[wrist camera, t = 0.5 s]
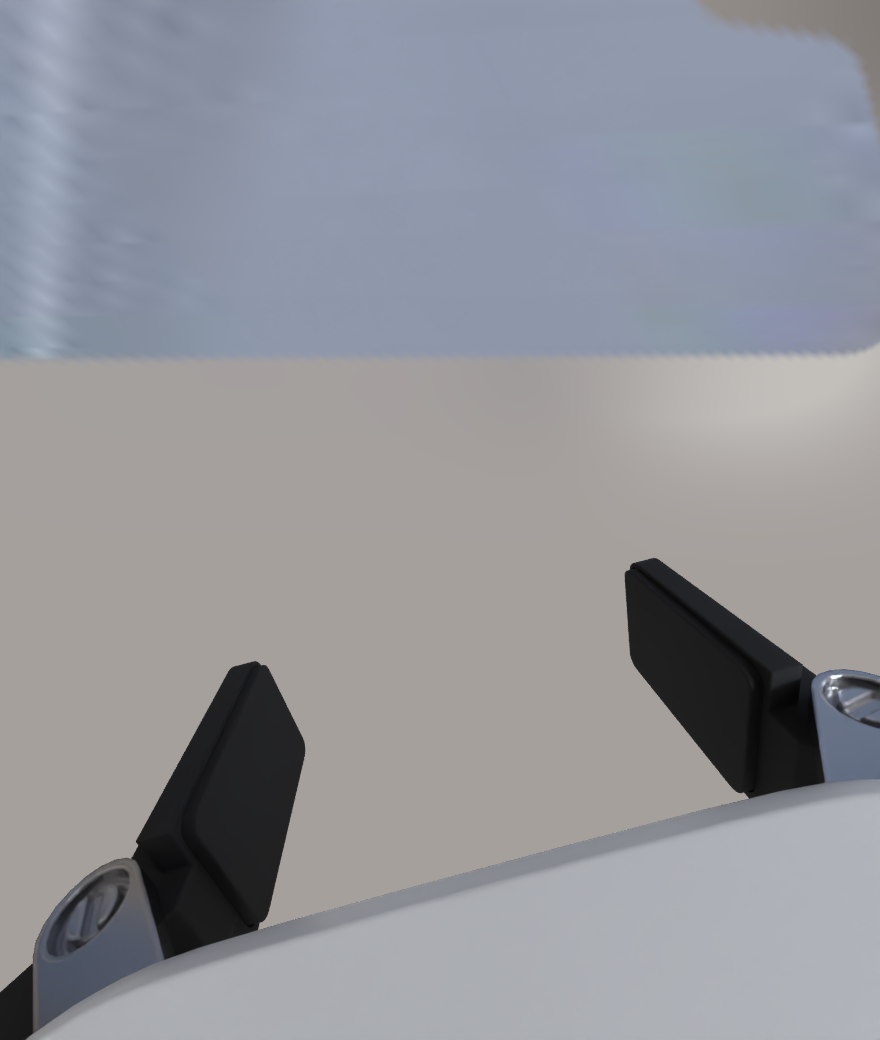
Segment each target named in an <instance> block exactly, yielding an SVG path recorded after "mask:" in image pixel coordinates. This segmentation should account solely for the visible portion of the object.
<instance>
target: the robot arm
mask: <svg viewBox="0 0 880 1040" xmlns="http://www.w3.org/2000/svg"><path fill="white" fill-rule="evenodd" d="M625 588H626V602H627V616H628V632H629V646H630V656H631V659H632V662H633V664H634V666H635V667H636V669H637V670H638V671H639V673H640V674H641V675H642V676H643V678H644V679H645V680H646V681H647V682H648V684H649V685H650V686H651V687H652V689H653V690H654V691H655V692H656V694H657V695H658V696H659V697H660V699H661V700H662V701H663V702H664V704H665V705H666V706H667V707H668V709H669V710H670V711H671V712H672V714H673V715H674V716H675V717H676V719H677V720H678V721H679V722H680V724H681V725H682V726H683V727H684V729H685V730H686V731H687V732H688V733H689V735H690V736H691V737H692V739H693V740H694V741H695V742H696V744H697V745H698V746H699V747H700V748H701V750H702V751H703V752H704V754H705V755H706V756H707V757H708V759H709V760H710V761H711V762H712V764H713V765H714V766H715V767H716V769H717V770H718V771H719V772H720V774H721V775H722V776H723V777H724V778H725V780H726V781H727V782H728V784H729V785H730V786H731V787H732V788H733V789H734V790H735V791H736V792H738V793H743V792H744V793H745V794H746V795H747V796H748V798H749V799H746V800H742V801H738V802H733V803H729V804H725V805H721V806H717V807H713V808H708V809H704V810H700V811H696V812H692V813H689V814H685V815H681V816H677V817H673V818H669V819H666V820H662V821H658V822H654V823H650V824H647V825H643V826H639V827H635V828H632V829H628V830H624V831H620V832H616V833H612V834H608V835H605V836H601V837H597V838H593V839H589V840H586V841H582V842H578V843H574V844H571V845H567V846H563V847H559V848H556V849H552V850H549V851H544V852H541V853H537V854H533V855H529V856H526V857H522V858H518V859H515V860H511V861H507V862H503V863H500V864H496V865H492V866H488V867H485V868H481V869H477V870H474V871H470V872H466V873H463V874H459V875H455V876H451V877H448V878H444V879H440V880H437V881H433V882H429V883H426V884H422V885H418V886H414V887H411V888H407V889H404V890H400V891H396V892H393V893H389V894H385V895H382V896H378V897H375V898H371V899H367V900H364V901H360V902H356V903H353V904H349V905H346V906H342V907H339V908H335V909H331V910H327V911H324V912H320V913H316V914H313V915H309V916H306V917H302V918H298V919H295V920H291V921H288V922H284V923H281V924H277V925H274V926H270V927H267V928H264V929H260V930H258V927H259V923H260V922H263V921H264V920H265V919H266V917H267V915H268V912H269V908H270V904H271V900H272V895H273V891H274V886H275V882H276V878H277V873H278V869H279V865H280V860H281V856H282V852H283V848H284V843H285V839H286V835H287V830H288V826H289V822H290V817H291V813H292V808H293V804H294V800H295V796H296V791H297V787H298V783H299V778H300V774H301V770H302V765H303V761H304V757H305V743H304V740H303V737H302V735H301V733H300V731H299V730H298V727H297V725H296V723H295V721H294V719H293V717H292V715H291V713H290V711H289V709H288V707H287V705H286V703H285V701H284V699H283V697H282V695H281V693H280V691H279V689H278V687H277V685H276V683H275V681H274V679H273V677H272V675H271V673H270V671H269V669H268V667H267V666H266V665H262V666H261V665H260V663H258V662H256V661H254V662H250V663H246V664H242V665H239V666H234V667H232V668H231V669H230V670H229V672H228V674H227V675H226V677H225V679H224V681H223V683H222V685H221V686H220V688H219V690H218V692H217V694H216V696H215V697H214V699H213V701H212V703H211V705H210V706H209V708H208V710H207V712H206V714H205V716H204V718H203V719H202V721H201V723H200V725H199V727H198V729H197V730H196V732H195V734H194V736H193V738H192V739H191V741H190V743H189V745H188V747H187V749H186V751H185V752H184V754H183V756H182V758H181V760H180V761H179V763H178V765H177V767H176V769H175V771H174V772H173V774H172V776H171V778H170V780H169V782H168V783H167V785H166V787H165V789H164V791H163V793H162V794H161V796H160V798H159V800H158V802H157V804H156V806H155V807H154V810H153V811H152V813H151V815H150V817H149V819H148V820H147V822H146V824H145V826H144V828H143V829H142V831H141V833H140V835H139V837H138V838H137V840H136V843H137V844H138V847H137V849H136V851H135V853H134V855H133V857H132V858H131V859H129V858H122V859H116V860H114V861H111V862H109V863H107V864H105V865H102V866H101V867H99V868H98V869H96V870H95V871H93V872H92V873H90V874H89V875H87V876H86V877H85V878H84V879H83V880H82V881H80V882H79V883H78V884H77V885H76V886H75V887H74V888H73V889H72V890H70V892H69V893H68V894H67V895H66V896H65V897H64V898H63V900H61V902H60V903H59V904H58V905H57V906H56V907H55V909H54V910H53V912H52V913H51V915H50V916H49V918H48V919H47V921H46V922H45V924H44V925H43V927H42V929H41V932H40V934H39V936H38V938H37V940H36V943H35V948H34V954H33V964H31V965H30V966H29V967H28V968H27V969H26V970H25V971H24V972H22V973H21V974H20V975H19V976H18V977H17V978H16V979H15V980H14V981H12V982H11V983H10V984H9V985H8V986H7V987H6V988H5V989H4V990H2V991H1V992H0V1040H880V676H877V675H874V674H870V673H866V672H862V671H855V670H845V669H842V670H829V671H826V672H823V673H820V674H818V675H817V676H816V675H815V674H814V673H812V672H811V671H809V670H808V669H807V668H805V667H804V666H803V665H802V664H801V663H800V662H798V661H797V660H795V659H794V658H793V657H791V656H790V655H789V654H787V653H786V652H784V651H783V650H782V649H780V648H779V647H778V646H776V645H775V644H774V643H772V642H771V641H769V640H768V639H766V638H765V637H764V636H762V635H761V634H760V633H758V632H757V631H756V630H754V629H753V628H752V627H750V626H749V625H747V624H746V623H745V622H743V621H742V620H741V619H739V618H738V617H737V616H735V615H734V614H732V613H731V612H730V611H728V610H727V609H726V608H724V607H723V606H721V605H720V604H719V603H717V602H716V601H715V600H713V599H712V598H711V597H709V596H708V595H706V594H705V593H704V592H702V591H701V590H699V589H698V588H697V587H695V586H694V585H692V584H691V583H690V582H689V581H687V580H686V579H684V578H683V577H682V576H680V575H679V574H678V573H676V572H675V571H673V570H672V569H671V568H669V567H668V566H667V565H665V564H664V563H663V562H661V561H660V560H658V559H656V558H652V559H648V560H644V561H640V562H636V563H633V564H632V565H631V566H630V570H628V571H626V572H625Z"/></svg>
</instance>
